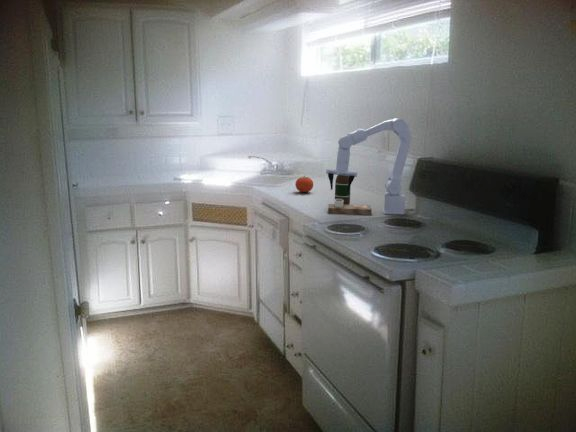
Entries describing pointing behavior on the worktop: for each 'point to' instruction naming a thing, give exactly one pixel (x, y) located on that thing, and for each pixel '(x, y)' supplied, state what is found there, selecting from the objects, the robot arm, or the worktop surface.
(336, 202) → the plug
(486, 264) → the worktop surface
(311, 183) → the tomato
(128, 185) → the worktop surface
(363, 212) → the brown wooden flat block
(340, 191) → the beer bottle
